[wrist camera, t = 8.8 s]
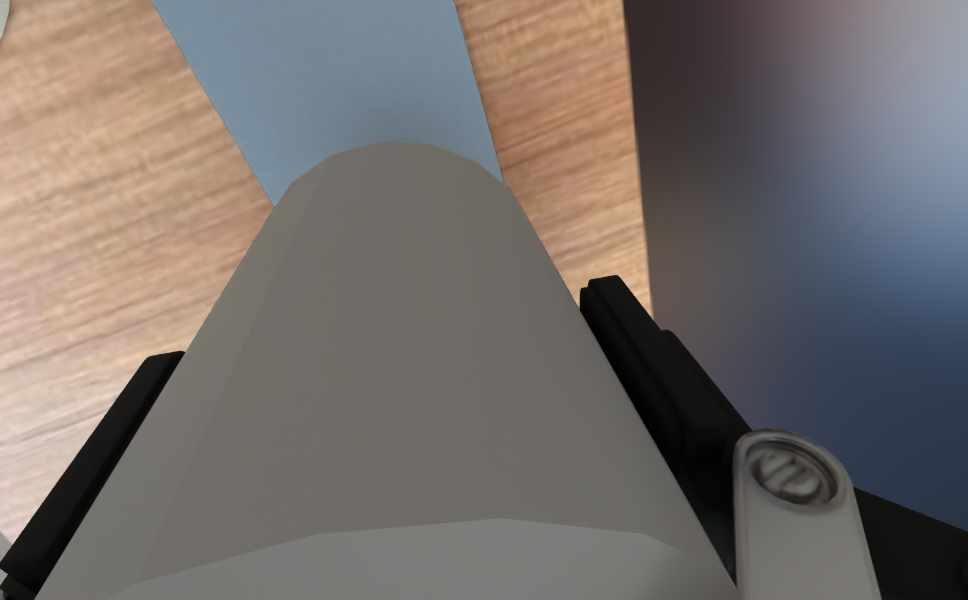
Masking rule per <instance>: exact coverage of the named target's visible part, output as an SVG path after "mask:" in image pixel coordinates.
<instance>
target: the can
mask: <svg viewBox="0 0 968 600" xmlns="http://www.w3.org/2000/svg"><path fill="white" fill-rule="evenodd" d="M35 600H743V599H742V597H741V595H740V594H739V592H738V590H737V588H736V586H735V584H734V582H733V580H732V578H731V576H730V574H729V573H728V571H727V569H726V567H725V566H724V564H723V562H722V560H721V559H720V557H719V555H718V553H717V551H716V550H715V548H714V546H713V544H712V543H711V541H710V539H709V537H708V536H707V534H706V532H705V530H704V528H703V527H702V525H701V523H700V521H699V520H698V518H697V516H696V514H695V513H694V511H693V509H692V507H691V505H690V504H689V502H688V500H687V498H686V497H685V495H684V493H683V491H682V490H681V488H680V486H679V484H678V482H677V481H676V479H675V477H674V475H673V474H672V472H671V470H670V468H669V467H668V465H667V463H666V461H665V460H664V458H663V456H662V454H661V452H660V451H659V449H658V447H657V445H656V444H655V442H654V440H653V438H652V437H651V435H650V433H649V431H648V429H647V428H646V426H645V424H644V422H643V421H642V419H641V417H640V415H639V414H638V412H637V410H636V408H635V406H634V405H633V403H632V401H631V399H630V398H629V396H628V394H627V392H626V391H625V389H624V387H623V385H622V383H621V382H620V380H619V378H618V376H617V375H616V373H615V371H614V369H613V368H612V366H611V364H610V362H609V361H608V359H607V357H606V355H605V353H604V352H603V350H602V348H601V346H600V345H599V343H598V341H597V339H596V338H595V336H594V334H593V332H592V330H591V329H590V327H589V325H588V323H587V322H586V320H585V318H584V316H583V315H582V313H581V311H580V309H579V307H578V306H577V304H576V302H575V300H574V299H573V297H572V295H571V293H570V292H569V290H568V288H567V286H566V284H565V283H564V281H563V279H562V277H561V276H560V274H559V272H558V270H557V269H556V267H555V265H554V263H553V262H552V260H551V258H550V256H549V254H548V253H547V251H546V249H545V247H544V246H543V244H542V242H541V240H540V239H539V237H538V235H537V233H536V231H535V230H534V228H533V226H532V224H531V223H530V221H529V219H528V218H527V216H526V214H525V213H524V211H523V209H522V208H521V206H520V204H519V203H518V201H517V199H516V198H515V196H514V194H513V193H512V191H511V190H510V189H509V188H508V187H506V186H505V185H504V184H503V183H502V182H500V181H499V180H498V179H497V178H496V177H494V176H493V175H492V174H491V173H489V172H488V171H487V170H486V169H485V168H483V167H482V166H481V165H480V164H479V163H477V162H476V161H473V160H471V159H468V158H465V157H463V156H460V155H458V154H455V153H452V152H450V151H447V150H445V149H442V148H439V147H437V146H434V145H431V144H417V143H397V142H376V143H373V144H369V145H366V146H362V147H358V148H355V149H351V150H348V151H344V152H340V153H337V154H333V155H330V156H329V157H327V158H326V159H324V160H323V161H322V162H320V163H319V164H317V165H316V166H314V167H313V168H312V169H310V170H309V171H307V172H306V173H305V174H303V175H302V176H300V177H299V178H297V179H296V180H295V181H293V182H292V183H291V184H290V185H289V187H288V188H287V190H286V191H285V193H284V194H283V196H282V197H281V199H280V200H279V202H278V203H277V205H276V206H275V208H274V209H273V211H272V212H271V214H270V215H269V217H268V218H267V220H266V222H265V223H264V225H263V227H262V228H261V230H260V231H259V233H258V235H257V236H256V238H255V240H254V241H253V243H252V245H251V246H250V248H249V249H248V251H247V253H246V254H245V256H244V258H243V259H242V261H241V263H240V264H239V266H238V267H237V269H236V271H235V272H234V274H233V276H232V277H231V279H230V281H229V282H228V284H227V285H226V287H225V289H224V290H223V292H222V294H221V295H220V297H219V299H218V300H217V302H216V303H215V305H214V307H213V308H212V310H211V312H210V313H209V315H208V317H207V318H206V320H205V321H204V323H203V325H202V326H201V328H200V330H199V331H198V333H197V335H196V336H195V338H194V339H193V341H192V343H191V344H190V346H189V348H188V349H187V351H186V352H185V354H184V356H183V357H182V359H181V361H180V362H179V364H178V366H177V367H176V369H175V370H174V372H173V374H172V375H171V377H170V379H169V380H168V382H167V384H166V385H165V387H164V388H163V390H162V392H161V393H160V395H159V397H158V398H157V400H156V402H155V403H154V405H153V406H152V408H151V410H150V411H149V413H148V415H147V416H146V418H145V420H144V421H143V423H142V424H141V426H140V428H139V429H138V431H137V433H136V434H135V436H134V438H133V439H132V441H131V442H130V444H129V446H128V447H127V449H126V451H125V452H124V454H123V456H122V457H121V459H120V460H119V462H118V464H117V465H116V467H115V469H114V470H113V472H112V474H111V475H110V477H109V478H108V480H107V482H106V483H105V485H104V487H103V488H102V490H101V492H100V493H99V495H98V496H97V498H96V500H95V501H94V503H93V505H92V506H91V508H90V510H89V511H88V513H87V514H86V516H85V518H84V519H83V521H82V523H81V524H80V526H79V528H78V529H77V531H76V532H75V534H74V536H73V537H72V539H71V541H70V542H69V544H68V546H67V547H66V549H65V550H64V552H63V554H62V555H61V557H60V559H59V560H58V562H57V564H56V565H55V567H54V568H53V570H52V572H51V573H50V575H49V577H48V578H47V580H46V582H45V583H44V585H43V586H42V588H41V590H40V591H39V593H38V595H37V596H36V598H35Z"/></svg>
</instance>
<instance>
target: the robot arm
mask: <svg viewBox="0 0 968 600" xmlns="http://www.w3.org/2000/svg"><path fill="white" fill-rule="evenodd" d="M9 10H10V0H0V39H1V37H2V36H3V32H4V28H5V25H6V21H7V17H8V13H9ZM580 311H581V313H582V315H583V316H584V318H585V320H586V322H587V323H588V325H589V327H590V329H591V330H592V332H593V334H594V336H595V338H596V339H597V341H598V343H599V345H600V346H601V348H602V350H603V352H604V353H605V355H606V357H607V359H608V361H609V362H610V364H611V366H612V368H613V369H614V371H615V373H616V375H617V376H618V378H619V380H620V382H621V383H622V385H623V387H624V389H625V391H626V392H627V394H628V396H629V398H630V399H631V401H632V403H633V405H634V406H635V408H636V410H637V412H638V414H639V415H640V417H641V419H642V421H643V422H644V424H645V426H646V428H647V429H648V431H649V433H650V435H651V437H652V438H653V440H654V442H655V444H656V445H657V447H658V449H659V451H660V452H661V454H662V456H663V458H664V460H665V461H666V463H667V465H668V467H669V468H670V470H671V472H672V474H673V475H674V477H675V479H676V481H677V482H678V484H679V486H680V488H681V490H682V491H683V493H684V495H685V497H686V498H687V500H688V502H689V504H690V505H691V507H692V509H693V511H694V513H695V514H696V516H697V518H698V520H699V521H700V523H701V525H702V527H703V528H704V530H705V532H706V534H707V536H708V537H709V539H710V541H711V543H712V544H713V546H714V548H715V550H716V551H717V553H718V555H719V557H720V559H721V560H722V562H723V564H724V566H725V567H726V569H727V571H728V573H729V574H730V576H731V578H732V580H733V582H734V584H735V586H736V588H737V590H738V592H739V594H740V595H741V597H742V599H743V600H968V532H967V531H964V530H962V529H959V528H957V527H954V526H952V525H949V524H947V523H944V522H941V521H939V520H936V519H934V518H931V517H928V516H926V515H924V514H921V513H918V512H916V511H913V510H910V509H908V508H906V507H903V506H900V505H898V504H896V503H893V502H890V501H888V500H885V499H883V498H880V497H877V496H875V495H872V494H870V493H867V492H865V491H862V490H860V489H857V488H855V487H853V486H852V482H851V480H850V478H849V476H848V474H847V471H846V469H845V468H844V467H843V465H842V464H841V463H840V462H839V461H838V460H837V458H836V457H835V456H834V455H833V454H832V453H830V452H829V451H827V450H826V449H825V448H824V447H822V446H821V445H820V444H818V443H816V442H814V441H812V440H810V439H808V438H806V437H804V436H802V435H800V434H796V433H793V432H790V431H786V430H779V429H770V428H767V429H760V430H753V431H752V429H751V428H750V427H749V426H748V424H747V423H746V422H745V421H744V420H743V418H742V417H741V416H740V415H739V413H738V412H737V411H736V410H735V408H734V407H733V406H732V405H731V403H730V402H729V401H728V400H727V398H726V397H725V396H724V395H723V394H722V392H721V391H720V390H719V388H718V387H717V386H716V385H715V384H714V382H713V381H712V380H711V379H710V377H709V376H708V375H707V374H706V372H705V371H704V370H703V369H702V367H701V366H700V365H699V364H698V362H697V361H696V360H695V359H694V358H693V356H692V355H691V354H690V352H689V351H688V350H687V349H686V348H685V346H684V345H683V344H682V343H681V341H680V340H679V339H678V338H677V337H676V336H675V334H673V333H672V332H671V331H669V330H662V331H661V330H660V328H659V327H658V326H657V324H656V323H655V322H654V321H653V319H652V318H651V317H650V315H649V314H648V313H647V312H646V310H645V309H644V308H643V306H642V305H641V304H640V303H639V301H638V300H637V299H636V297H635V296H634V295H633V293H632V292H631V291H630V290H629V288H628V287H627V286H626V284H625V283H624V282H623V281H622V279H621V278H620V277H619V276H618V275H613V276H607V277H602V278H596V279H590V280H589V282H588V287H585V288H581V290H580ZM184 354H185V352H184V351H176V352H170V353H165V354H159V355H153V356H150V357H148V358H146V359H145V360H144V362H143V363H142V364H141V366H140V367H139V369H138V370H137V371H136V373H135V374H134V376H133V377H132V378H131V380H130V381H129V383H128V384H127V385H126V387H125V388H124V390H123V391H122V392H121V394H120V395H119V397H118V398H117V399H116V401H115V402H114V404H113V405H112V406H111V408H110V409H109V411H108V412H107V413H106V415H105V416H104V418H103V419H102V420H101V422H100V423H99V425H98V426H97V427H96V429H95V430H94V432H93V433H92V434H91V436H90V437H89V439H88V440H87V441H86V443H85V444H84V446H83V447H82V448H81V450H80V451H79V453H78V454H77V455H76V457H75V458H74V460H73V461H72V462H71V464H70V465H69V467H68V468H67V469H66V471H65V472H64V474H63V475H62V476H61V478H60V479H59V481H58V482H57V483H56V485H55V486H54V488H53V489H52V490H51V492H50V493H49V495H48V496H47V497H46V499H45V500H44V502H43V503H42V504H41V506H40V507H39V509H38V510H37V511H36V513H35V514H34V516H33V517H32V518H31V520H30V521H29V523H28V524H27V525H26V527H25V528H24V530H23V531H22V532H21V534H20V535H19V537H18V538H17V539H16V541H15V542H14V544H13V545H12V546H11V548H10V549H9V551H8V552H7V553H6V555H5V556H4V558H3V559H2V561H1V562H0V569H1V570H3V571H4V572H6V573H7V574H8V575H7V577H6V578H5V579H4V581H3V582H2V584H1V585H0V600H35V598H36V596H37V595H38V593H39V591H40V590H41V588H42V586H43V585H44V583H45V582H46V580H47V578H48V577H49V575H50V573H51V572H52V570H53V568H54V567H55V565H56V564H57V562H58V560H59V559H60V557H61V555H62V554H63V552H64V550H65V549H66V547H67V546H68V544H69V542H70V541H71V539H72V537H73V536H74V534H75V532H76V531H77V529H78V528H79V526H80V524H81V523H82V521H83V519H84V518H85V516H86V514H87V513H88V511H89V510H90V508H91V506H92V505H93V503H94V501H95V500H96V498H97V496H98V495H99V493H100V492H101V490H102V488H103V487H104V485H105V483H106V482H107V480H108V478H109V477H110V475H111V474H112V472H113V470H114V469H115V467H116V465H117V464H118V462H119V460H120V459H121V457H122V456H123V454H124V452H125V451H126V449H127V447H128V446H129V444H130V442H131V441H132V439H133V438H134V436H135V434H136V433H137V431H138V429H139V428H140V426H141V424H142V423H143V421H144V420H145V418H146V416H147V415H148V413H149V411H150V410H151V408H152V406H153V405H154V403H155V402H156V400H157V398H158V397H159V395H160V393H161V392H162V390H163V388H164V387H165V385H166V384H167V382H168V380H169V379H170V377H171V375H172V374H173V372H174V370H175V369H176V367H177V366H178V364H179V362H180V361H181V359H182V357H183V356H184Z"/></svg>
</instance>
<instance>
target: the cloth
mask: <svg viewBox="0 0 968 600" xmlns="http://www.w3.org/2000/svg"><path fill="white" fill-rule="evenodd" d="M151 1H152V3H153V5H154V6H155V8H156V10H157V11H158V13H159V15H160V17H161V18H162V20H163V22H164V23H165V25H166V27H167V28H168V30H169V32H170V33H171V35H172V37H173V38H174V40H175V42H176V43H177V45H178V47H179V48H180V50H181V52H182V53H183V55H184V57H185V58H186V60H187V62H188V63H189V65H190V67H191V68H192V70H193V72H194V74H195V75H196V77H197V79H198V80H199V82H200V84H201V85H202V87H203V89H204V90H205V92H206V94H207V95H208V97H209V99H210V100H211V102H212V104H213V105H214V107H215V109H216V110H217V112H218V114H219V115H220V117H221V119H222V120H223V122H224V124H225V125H226V127H227V129H228V131H229V132H230V134H231V136H232V137H233V139H234V141H235V142H236V144H237V146H238V147H239V149H240V151H241V152H242V154H243V156H244V157H245V159H246V161H247V162H248V164H249V166H250V167H251V169H252V171H253V172H254V174H255V176H256V177H257V179H258V181H259V183H260V184H261V186H262V188H263V189H264V191H265V193H266V194H267V196H268V198H269V199H270V201H271V203H272V204H273V206H274V208H275V206H276V205H277V203H278V202H279V200H280V199H281V197H282V196H283V194H284V193H285V191H286V190H287V188H288V187H289V185H290V184H291V183H292V182H293V181H295V180H296V179H297V178H299V177H300V176H302V175H303V174H305V173H306V172H307V171H309V170H310V169H312V168H313V167H314V166H316V165H317V164H319V163H320V162H322V161H323V160H324V159H326V158H327V157H329V156H330V155H333V154H337V153H340V152H344V151H348V150H351V149H355V148H358V147H362V146H366V145H369V144H373V143H376V142H397V143H417V144H431V145H434V146H437V147H439V148H442V149H445V150H447V151H450V152H452V153H455V154H458V155H460V156H463V157H465V158H468V159H471V160H473V161H476V162H477V163H479V164H480V165H481V166H482V167H483V168H485V169H486V170H487V171H488V172H489V173H491V174H492V175H493V176H494V177H496V178H497V179H498V180H499V181H500V182H502V183H503V184H504V181H503V177H502V173H501V170H500V166H499V162H498V159H497V155H496V152H495V148H494V144H493V141H492V137H491V133H490V130H489V126H488V123H487V119H486V115H485V112H484V108H483V104H482V101H481V97H480V93H479V90H478V86H477V83H476V79H475V75H474V72H473V68H472V64H471V61H470V57H469V54H468V50H467V46H466V43H465V39H464V35H463V32H462V28H461V25H460V21H459V17H458V14H457V10H456V6H455V3H454V0H151ZM504 185H505V184H504Z"/></svg>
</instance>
